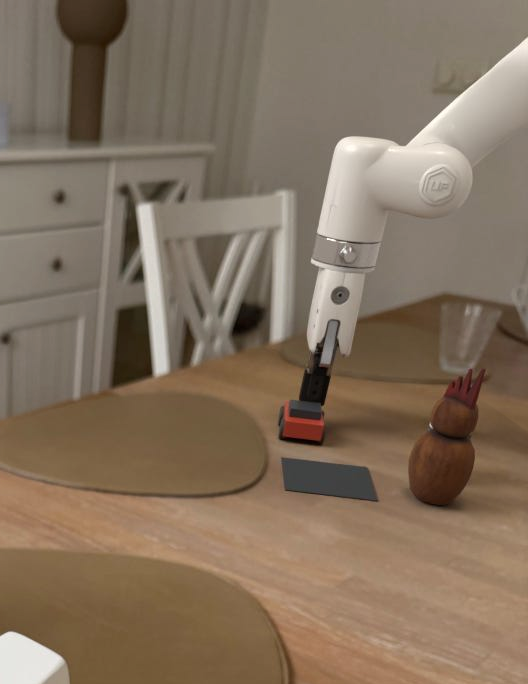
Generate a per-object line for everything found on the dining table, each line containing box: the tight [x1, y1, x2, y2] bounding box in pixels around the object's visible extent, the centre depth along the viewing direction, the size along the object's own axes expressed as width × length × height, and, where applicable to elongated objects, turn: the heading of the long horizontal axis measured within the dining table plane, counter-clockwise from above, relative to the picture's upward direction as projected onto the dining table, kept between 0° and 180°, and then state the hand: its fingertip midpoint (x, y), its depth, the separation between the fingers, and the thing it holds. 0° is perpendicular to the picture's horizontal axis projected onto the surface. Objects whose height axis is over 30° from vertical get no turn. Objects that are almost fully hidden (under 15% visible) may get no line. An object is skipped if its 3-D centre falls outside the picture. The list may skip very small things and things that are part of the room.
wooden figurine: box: [407, 368, 486, 506], centre depth 104 cm, size 7×6×15 cm
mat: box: [281, 456, 379, 502], centre depth 111 cm, size 10×10×1 cm
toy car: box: [277, 399, 327, 444], centre depth 123 cm, size 8×4×5 cm
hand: (311, 402), depth 126 cm, fingers closed
